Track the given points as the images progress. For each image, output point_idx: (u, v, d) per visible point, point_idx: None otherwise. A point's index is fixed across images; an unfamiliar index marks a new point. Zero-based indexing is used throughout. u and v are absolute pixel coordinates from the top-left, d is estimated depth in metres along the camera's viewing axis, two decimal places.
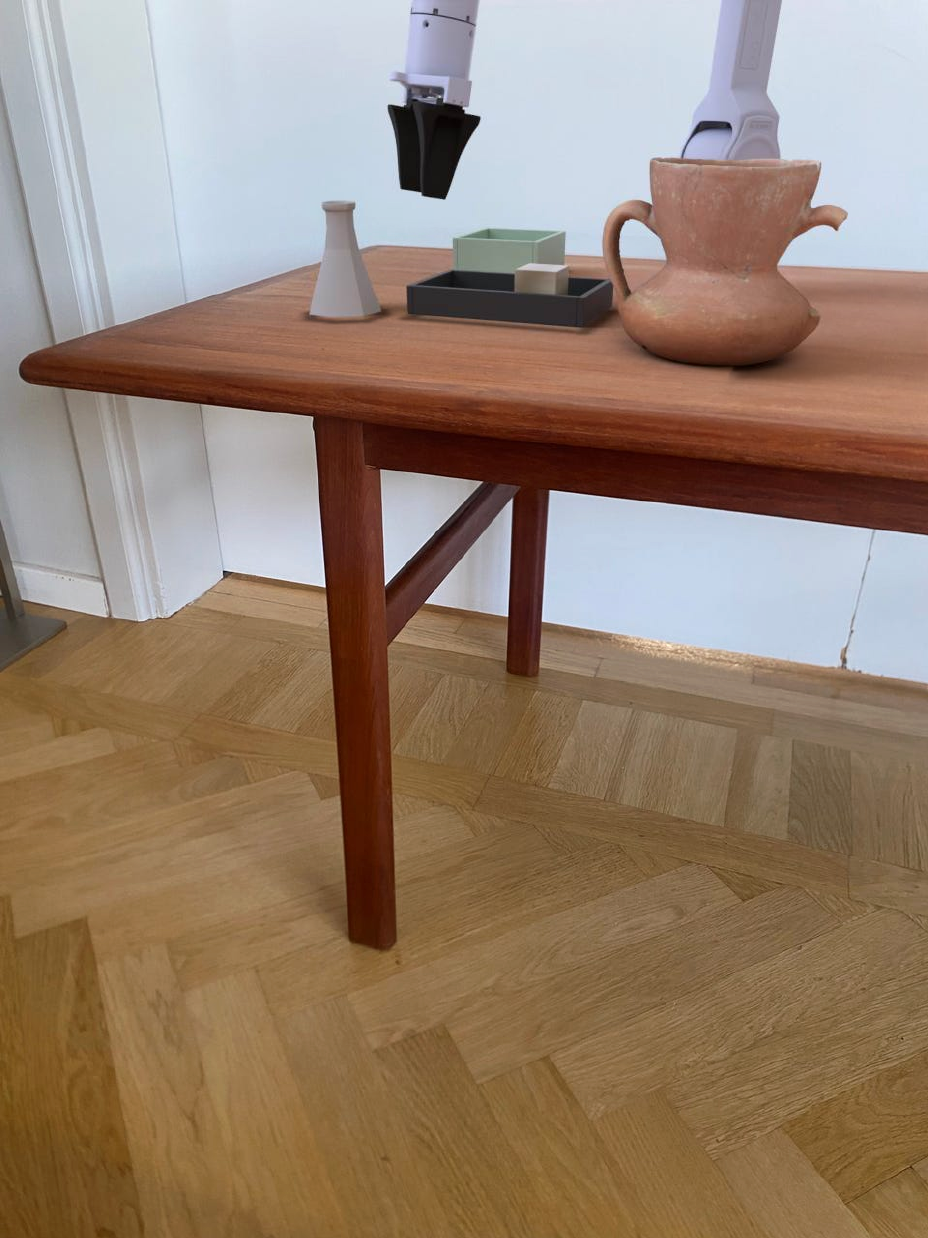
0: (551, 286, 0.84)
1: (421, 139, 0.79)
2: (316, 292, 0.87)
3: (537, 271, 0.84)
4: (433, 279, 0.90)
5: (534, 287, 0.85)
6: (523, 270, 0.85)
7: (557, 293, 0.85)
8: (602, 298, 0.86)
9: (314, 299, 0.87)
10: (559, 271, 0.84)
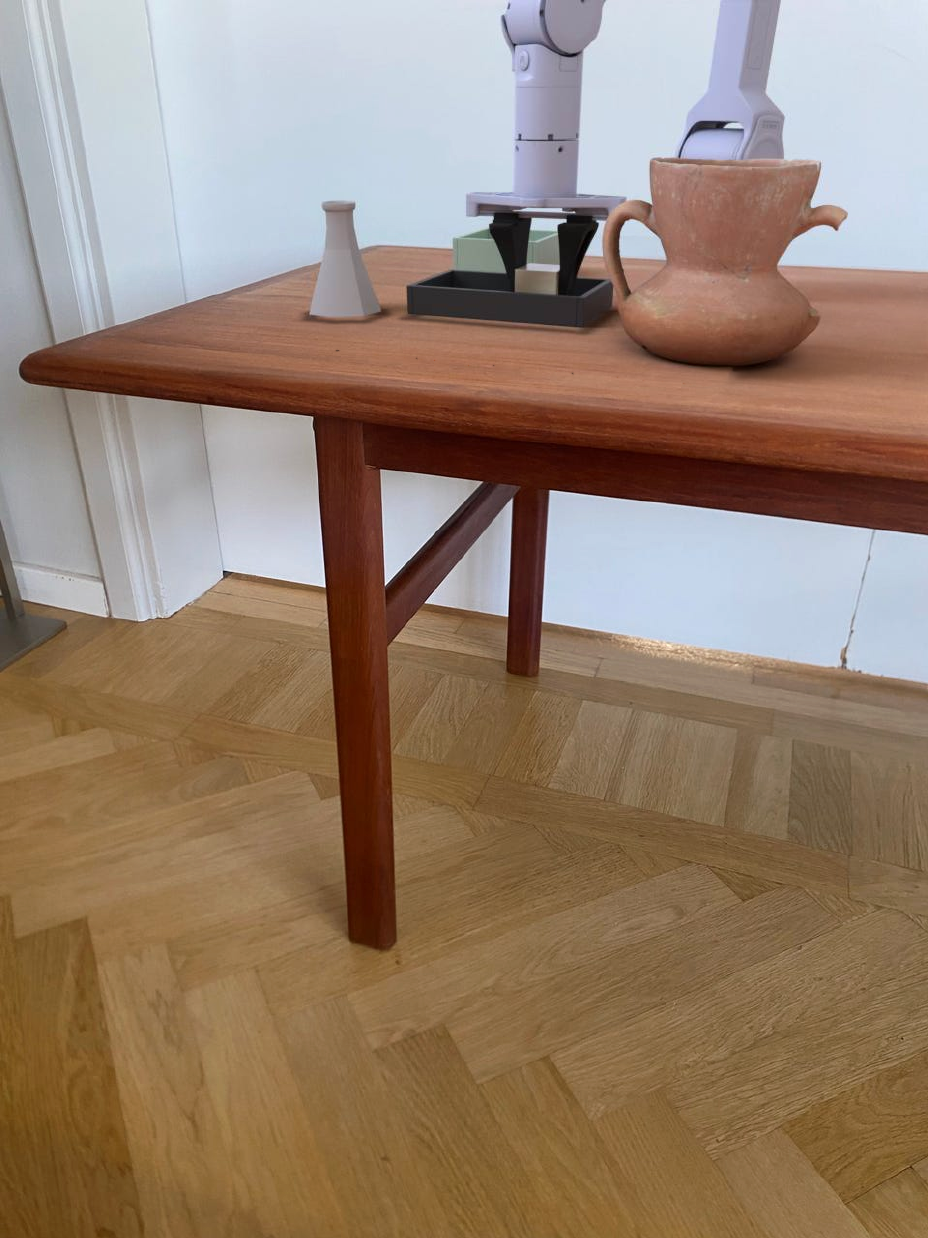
0: (552, 286, 0.84)
1: (567, 256, 0.83)
2: (316, 292, 0.87)
3: (537, 271, 0.84)
4: (433, 279, 0.90)
5: (535, 287, 0.85)
6: (523, 270, 0.85)
7: (557, 293, 0.85)
8: (602, 298, 0.86)
9: (314, 299, 0.87)
10: None
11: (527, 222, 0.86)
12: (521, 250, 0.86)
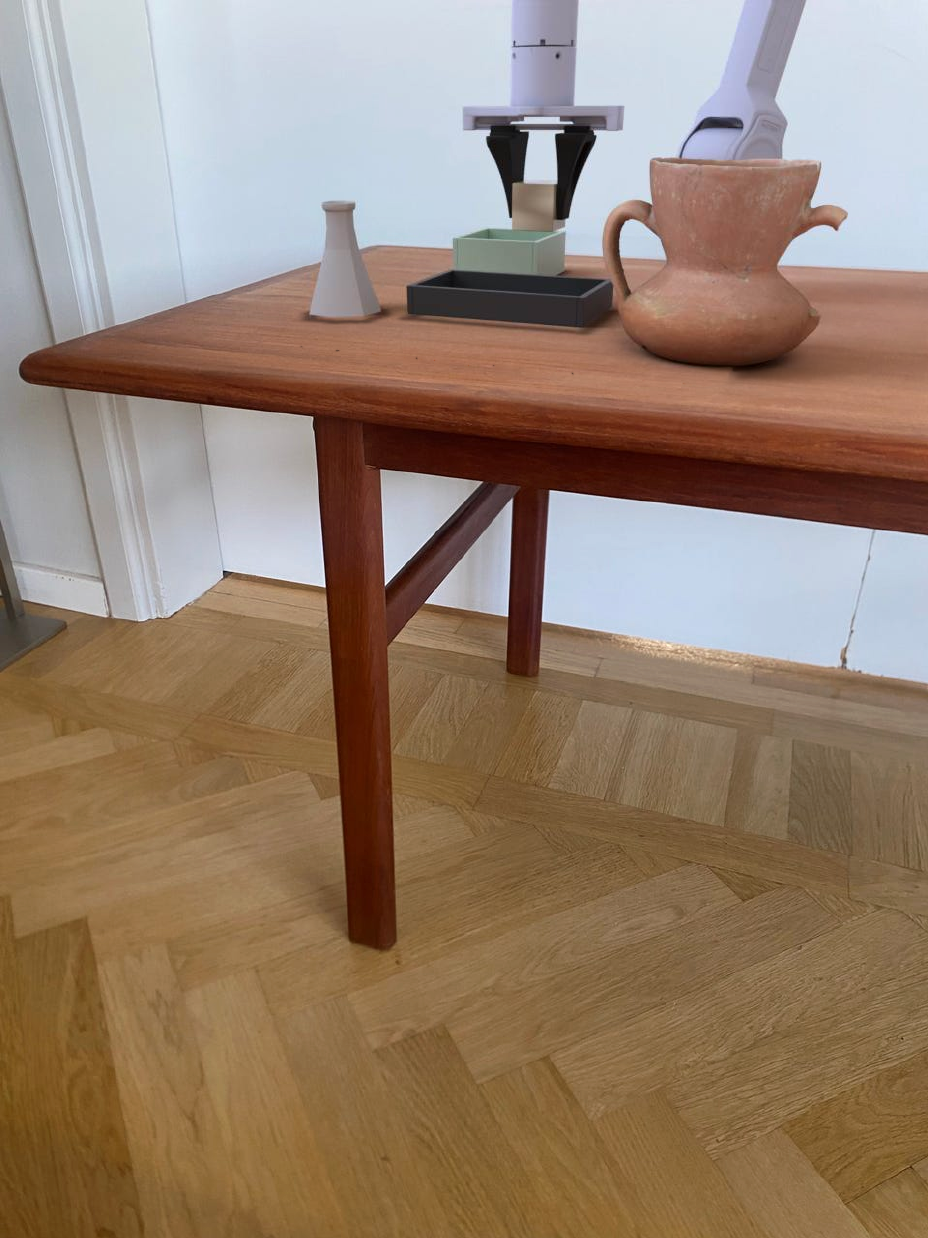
0: (549, 199, 0.84)
1: (565, 167, 0.82)
2: (316, 292, 0.87)
3: (535, 184, 0.84)
4: (433, 279, 0.90)
5: (532, 201, 0.84)
6: (521, 183, 0.84)
7: (555, 207, 0.85)
8: (602, 298, 0.86)
9: (314, 299, 0.87)
10: None
11: (524, 136, 0.86)
12: (518, 164, 0.85)
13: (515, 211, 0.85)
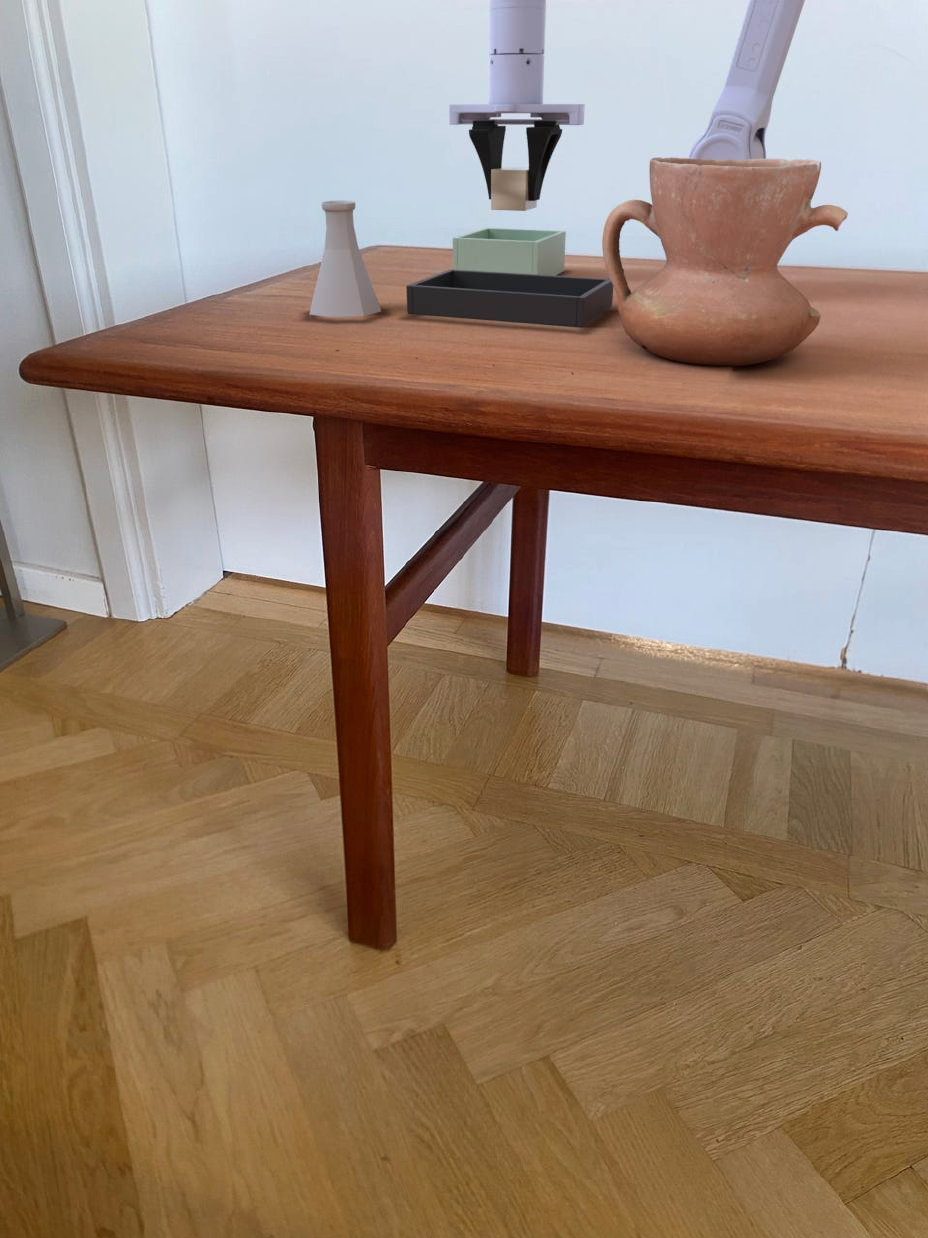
0: (522, 183, 0.99)
1: (535, 156, 0.98)
2: (316, 292, 0.87)
3: (510, 170, 0.99)
4: (433, 279, 0.90)
5: (508, 184, 1.00)
6: (498, 170, 1.00)
7: (527, 189, 1.00)
8: (602, 298, 0.86)
9: (314, 299, 0.87)
10: None
11: (501, 130, 1.01)
12: (496, 154, 1.01)
13: (493, 193, 1.01)
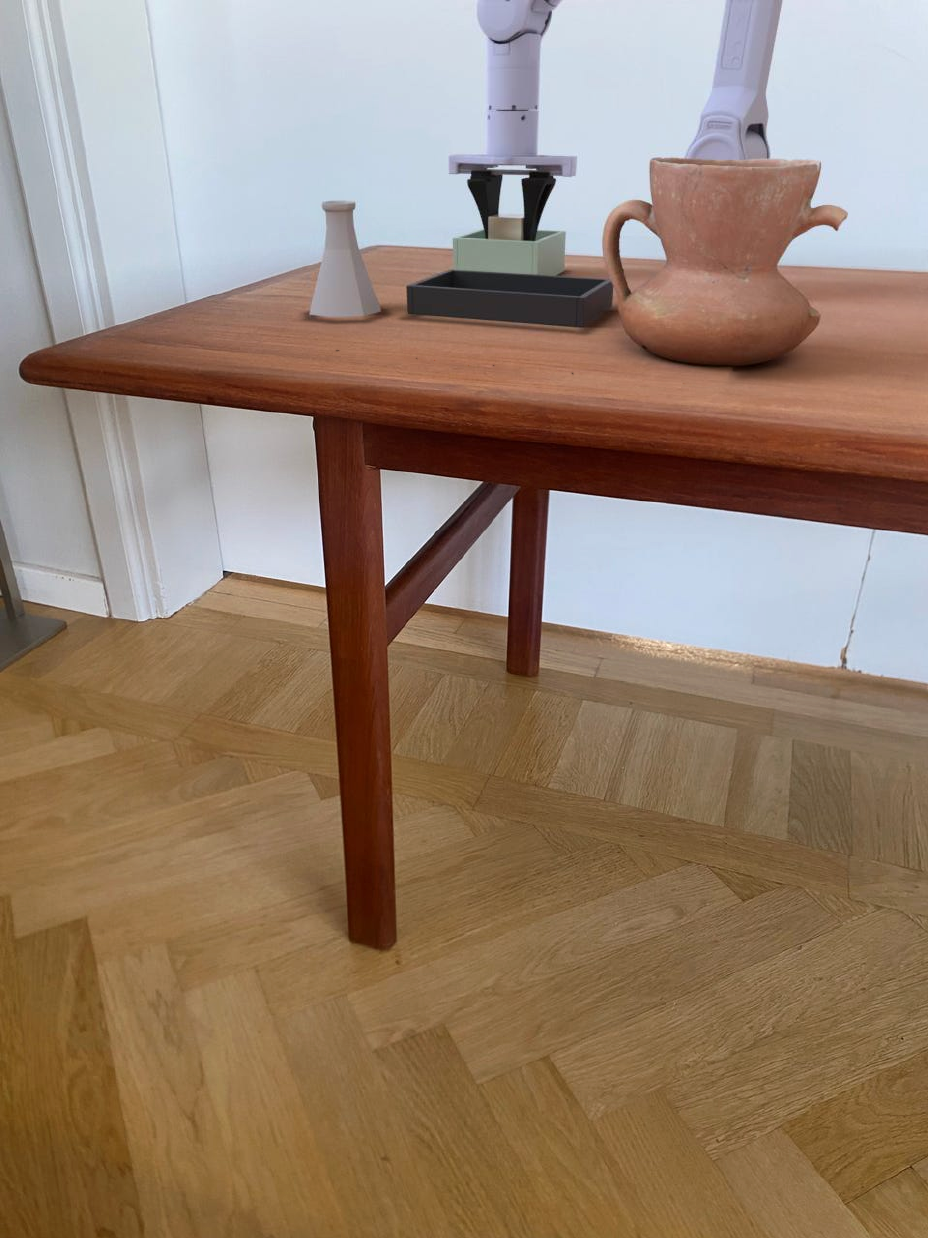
0: (518, 230, 1.04)
1: (530, 205, 1.03)
2: (316, 292, 0.87)
3: (506, 218, 1.04)
4: (433, 279, 0.90)
5: (504, 231, 1.05)
6: (495, 217, 1.05)
7: None
8: (602, 298, 0.86)
9: (314, 299, 0.87)
10: None
11: (498, 179, 1.06)
12: (493, 201, 1.06)
13: None
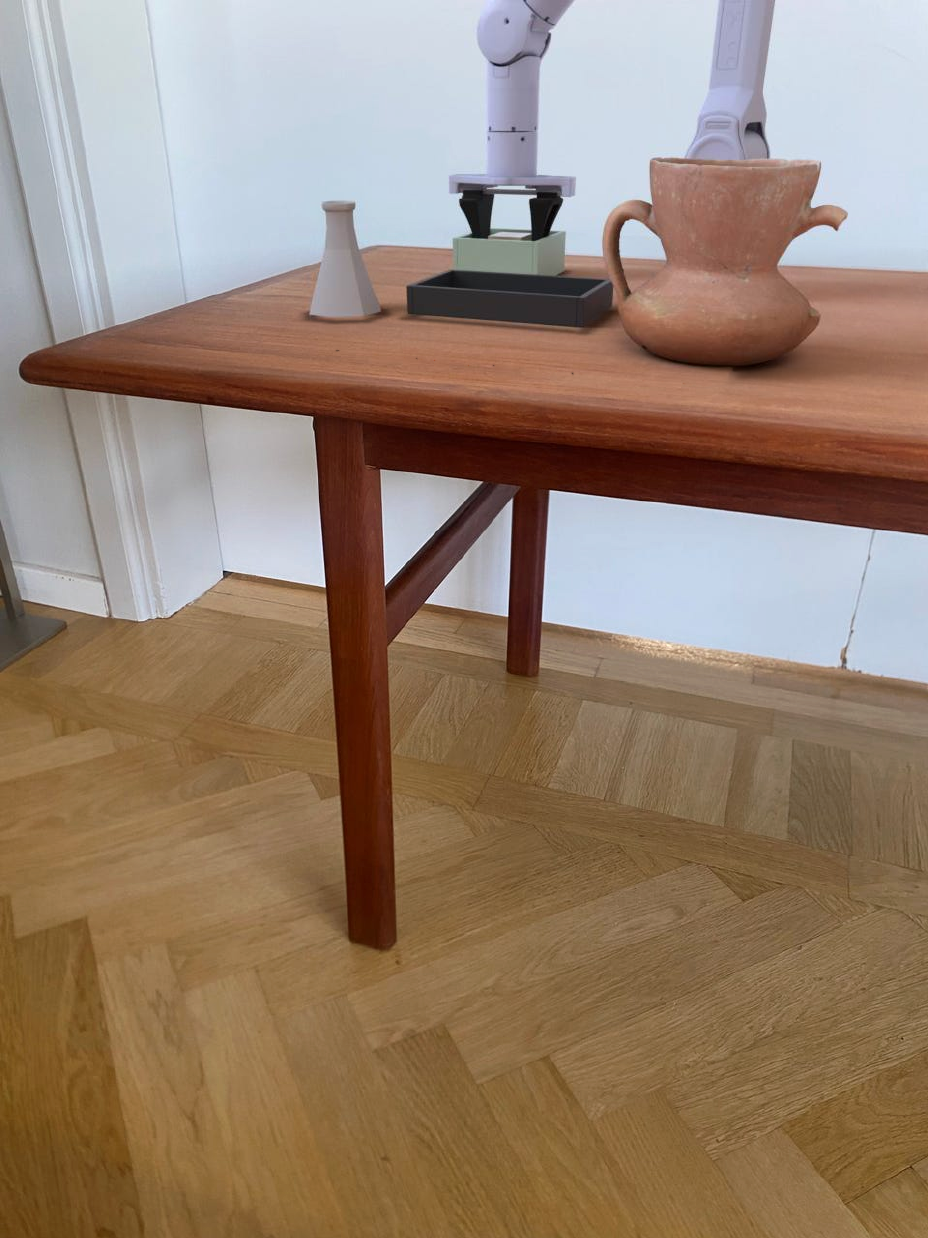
0: None
1: (537, 225, 1.03)
2: (316, 292, 0.87)
3: (506, 237, 1.05)
4: (433, 279, 0.90)
5: None
6: (495, 236, 1.06)
7: None
8: (602, 298, 0.86)
9: (314, 299, 0.87)
10: (523, 237, 1.05)
11: (490, 198, 1.07)
12: (485, 220, 1.07)
13: None
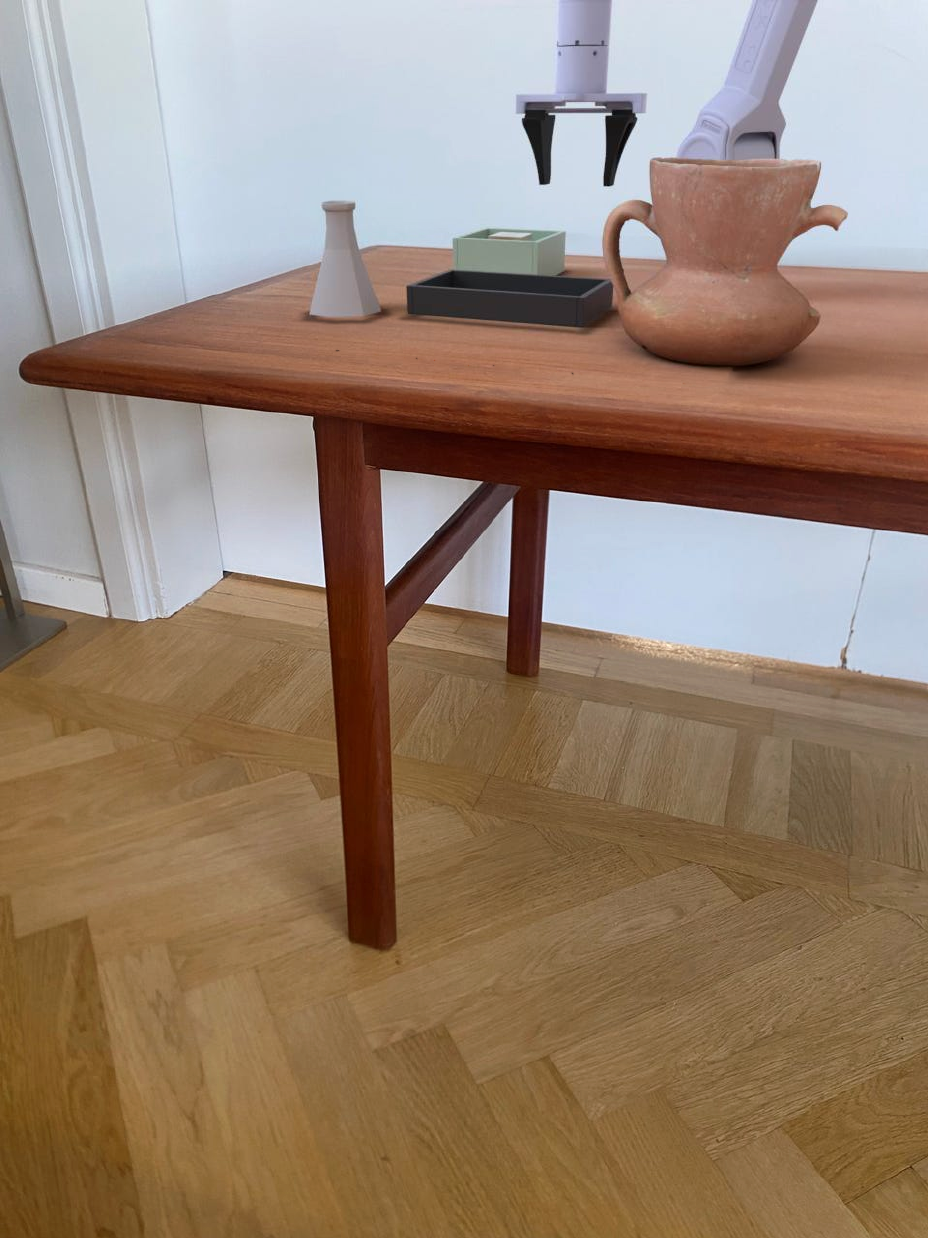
0: None
1: (612, 143, 1.02)
2: (316, 292, 0.87)
3: (506, 237, 1.05)
4: (433, 279, 0.90)
5: None
6: (495, 236, 1.06)
7: None
8: (602, 298, 0.86)
9: (314, 299, 0.87)
10: (523, 237, 1.05)
11: (552, 119, 1.06)
12: (547, 141, 1.06)
13: None
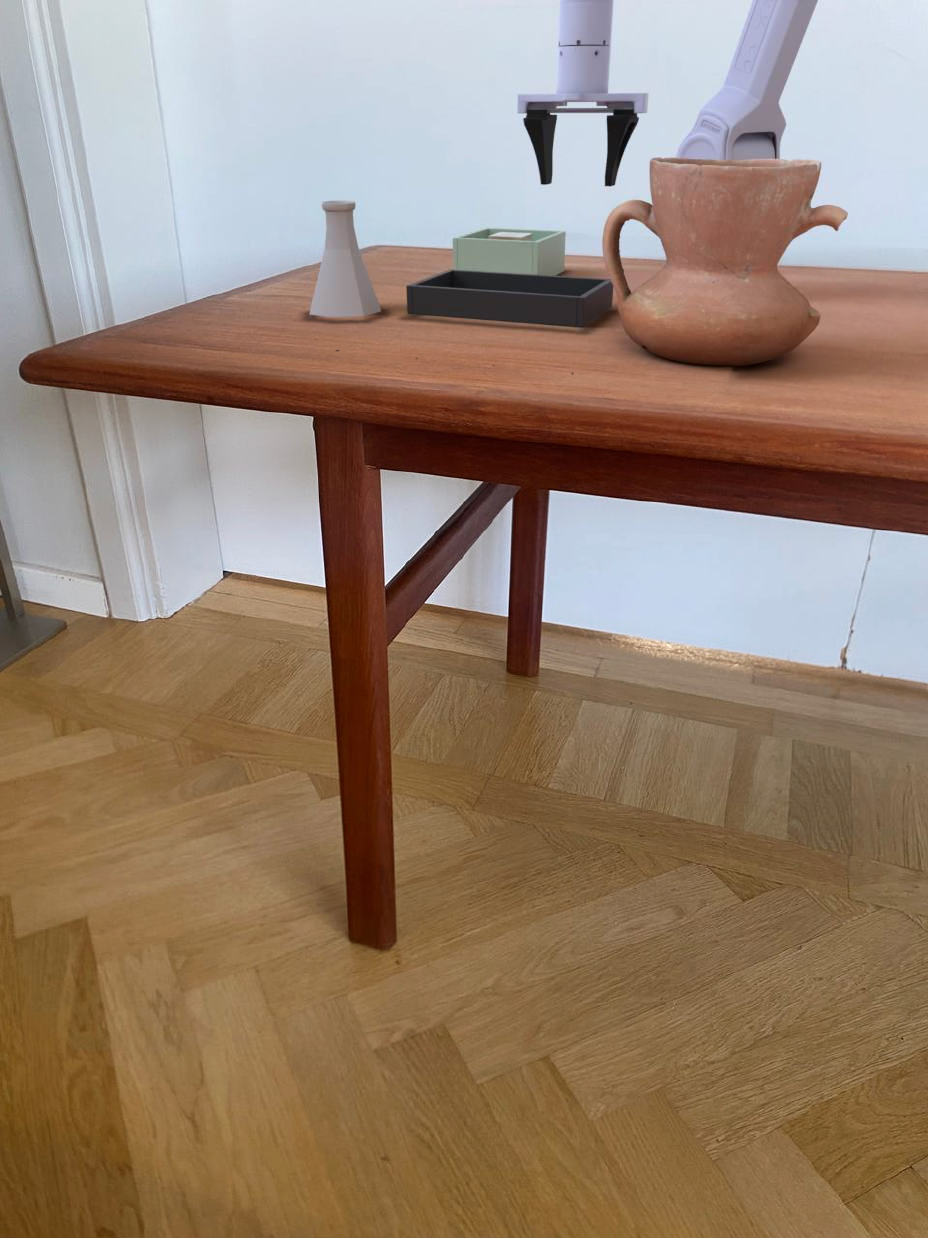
0: None
1: (614, 143, 1.02)
2: (316, 292, 0.87)
3: (506, 237, 1.05)
4: (433, 279, 0.90)
5: None
6: (495, 236, 1.06)
7: None
8: (602, 298, 0.86)
9: (314, 299, 0.87)
10: (523, 237, 1.05)
11: (553, 118, 1.06)
12: (548, 141, 1.06)
13: None
